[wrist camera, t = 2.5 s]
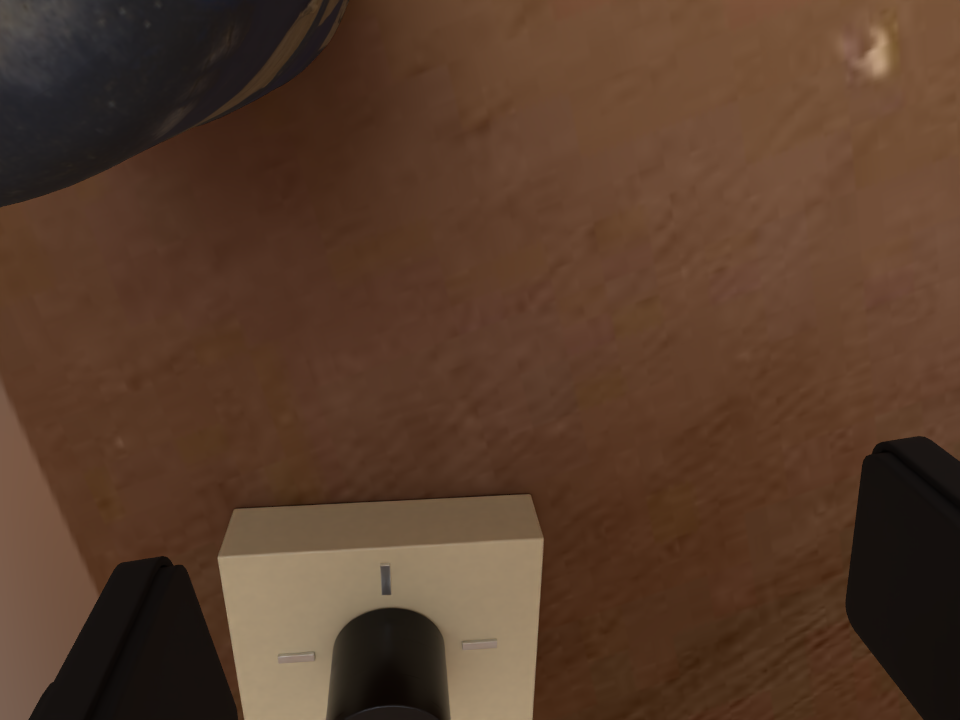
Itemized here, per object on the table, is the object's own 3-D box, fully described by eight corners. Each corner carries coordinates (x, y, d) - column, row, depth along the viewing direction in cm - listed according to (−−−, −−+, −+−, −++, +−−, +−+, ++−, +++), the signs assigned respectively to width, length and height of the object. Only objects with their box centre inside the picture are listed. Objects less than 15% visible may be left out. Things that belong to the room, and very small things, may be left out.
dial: (336, 694, 29) (326, 809, 25) (329, 611, 27) (316, 719, 23) (444, 686, 30) (453, 797, 25) (444, 603, 28) (453, 708, 24)
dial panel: (260, 690, 33) (247, 753, 30) (233, 508, 29) (215, 560, 26) (521, 670, 34) (533, 728, 31) (530, 493, 30) (545, 541, 27)
